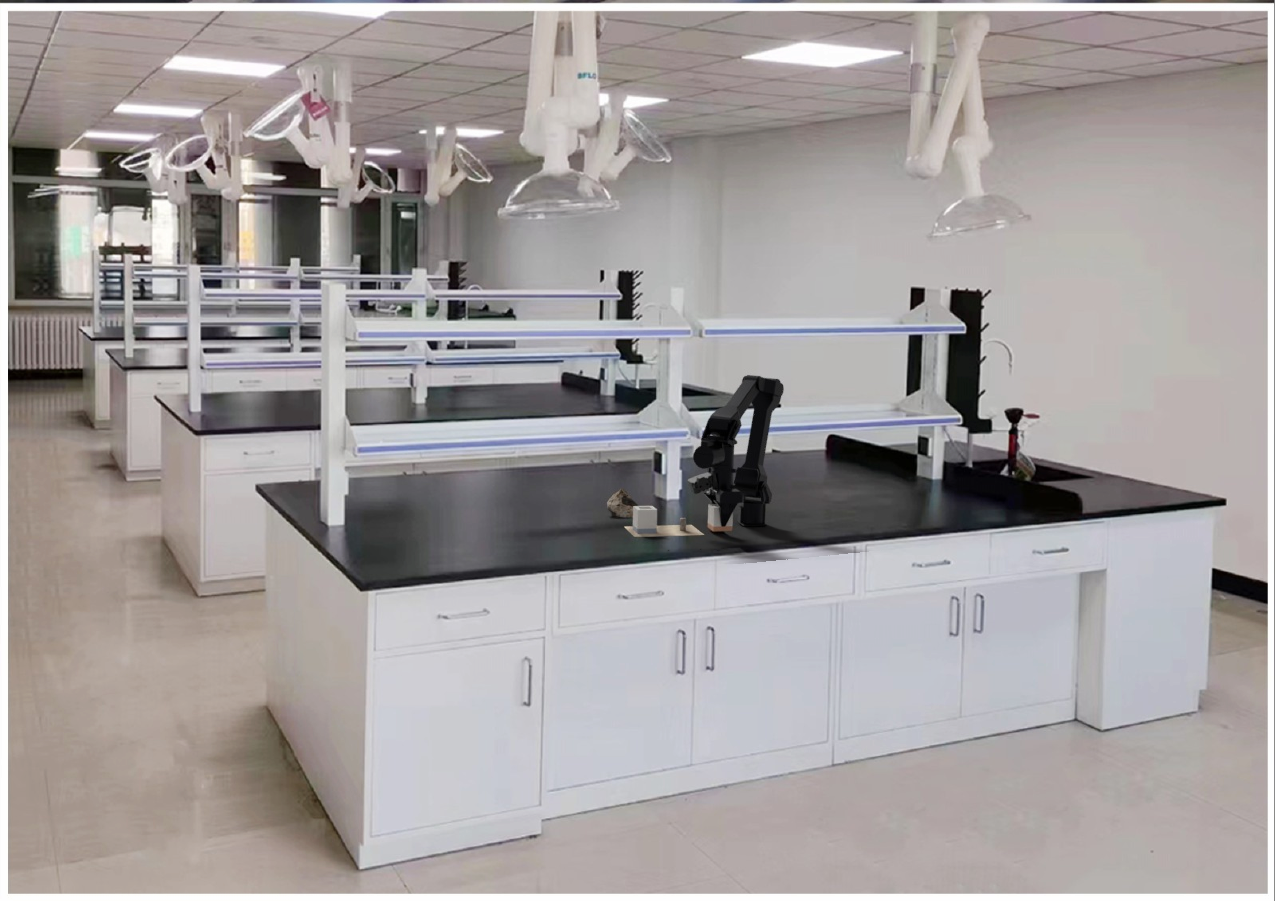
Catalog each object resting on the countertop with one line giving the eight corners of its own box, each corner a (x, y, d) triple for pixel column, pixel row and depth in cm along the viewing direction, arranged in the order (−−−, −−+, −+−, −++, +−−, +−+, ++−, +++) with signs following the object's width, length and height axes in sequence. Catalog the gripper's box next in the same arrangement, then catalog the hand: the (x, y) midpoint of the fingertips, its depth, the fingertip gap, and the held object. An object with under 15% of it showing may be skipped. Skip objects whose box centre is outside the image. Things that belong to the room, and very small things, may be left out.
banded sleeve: (726, 526, 326) (727, 503, 325) (732, 530, 321) (733, 507, 320) (707, 527, 325) (708, 504, 324) (713, 531, 320) (714, 507, 319)
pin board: (691, 529, 331) (691, 513, 330) (704, 539, 319) (704, 523, 319) (623, 531, 327) (624, 515, 326) (634, 541, 315) (634, 525, 315)
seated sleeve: (651, 528, 325) (652, 505, 324) (656, 533, 320) (657, 509, 319) (632, 529, 324) (633, 506, 323) (637, 533, 319) (637, 510, 318)
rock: (641, 509, 348) (613, 487, 346) (653, 503, 342) (624, 480, 340) (626, 534, 344) (597, 512, 342) (638, 528, 337) (609, 505, 335)
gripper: (681, 458, 328) (679, 517, 330) (702, 470, 310) (699, 533, 312) (722, 457, 330) (720, 516, 333) (745, 469, 312) (743, 531, 315)
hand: (720, 524), depth 323 cm, fingers closed on banded sleeve, 5 cm apart
